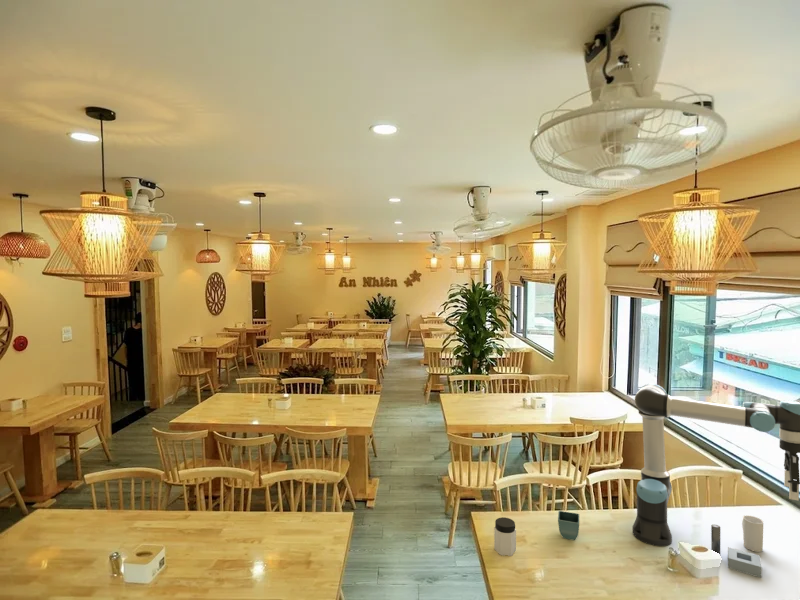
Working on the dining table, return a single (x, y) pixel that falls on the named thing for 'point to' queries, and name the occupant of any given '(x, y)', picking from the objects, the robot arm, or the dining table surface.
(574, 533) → the flower pot
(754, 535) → the beige oval cylinder
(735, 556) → the socket block
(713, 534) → the peg
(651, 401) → the robot arm
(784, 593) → the dining table surface
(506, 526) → the jar
